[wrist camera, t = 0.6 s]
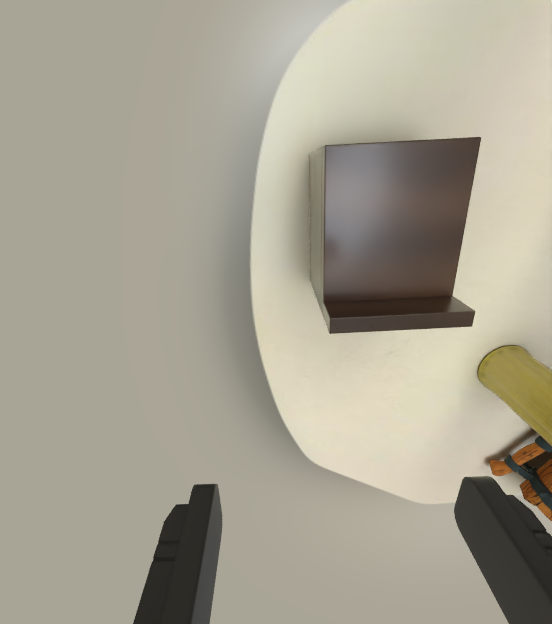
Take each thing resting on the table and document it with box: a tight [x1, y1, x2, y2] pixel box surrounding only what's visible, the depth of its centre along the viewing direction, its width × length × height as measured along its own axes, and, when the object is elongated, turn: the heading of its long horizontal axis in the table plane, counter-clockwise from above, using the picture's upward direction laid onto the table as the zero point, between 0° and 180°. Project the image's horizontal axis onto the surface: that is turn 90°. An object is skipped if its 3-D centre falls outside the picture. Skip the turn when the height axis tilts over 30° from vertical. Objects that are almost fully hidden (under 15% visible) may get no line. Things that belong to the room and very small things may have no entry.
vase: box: [478, 346, 552, 446], centre depth 31 cm, size 6×6×14 cm
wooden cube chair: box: [309, 137, 481, 334], centre depth 25 cm, size 12×10×12 cm
